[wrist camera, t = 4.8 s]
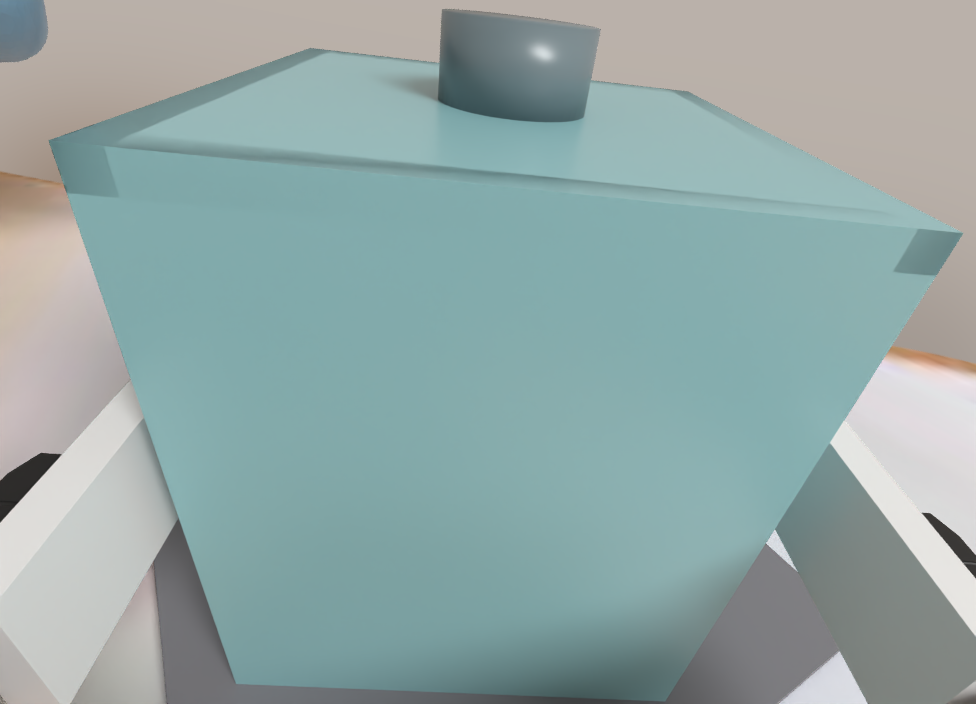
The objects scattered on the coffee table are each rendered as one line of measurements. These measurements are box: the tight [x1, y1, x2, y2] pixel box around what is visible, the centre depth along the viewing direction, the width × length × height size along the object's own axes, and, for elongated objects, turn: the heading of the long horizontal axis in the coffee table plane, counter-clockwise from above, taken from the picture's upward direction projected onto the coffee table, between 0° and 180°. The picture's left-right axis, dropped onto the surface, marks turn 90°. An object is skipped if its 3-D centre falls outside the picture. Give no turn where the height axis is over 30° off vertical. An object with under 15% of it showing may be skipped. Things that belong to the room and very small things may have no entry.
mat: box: [154, 518, 840, 704], centre depth 18 cm, size 18×18×1 cm
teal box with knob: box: [49, 9, 963, 701], centre depth 14 cm, size 11×11×14 cm
